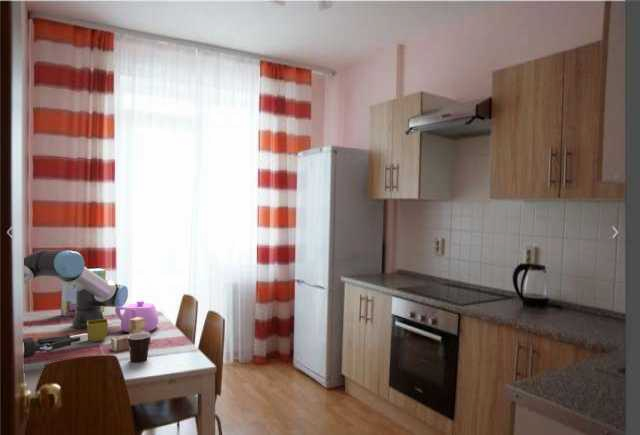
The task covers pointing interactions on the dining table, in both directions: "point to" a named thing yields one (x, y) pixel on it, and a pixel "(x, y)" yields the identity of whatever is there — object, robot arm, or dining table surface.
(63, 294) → the snack box
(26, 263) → the robot arm
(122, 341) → the walnut block
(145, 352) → the coffee mug
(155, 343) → the dining table surface
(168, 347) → the dining table surface
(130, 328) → the oak block
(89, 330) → the flower pot
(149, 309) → the teapot
